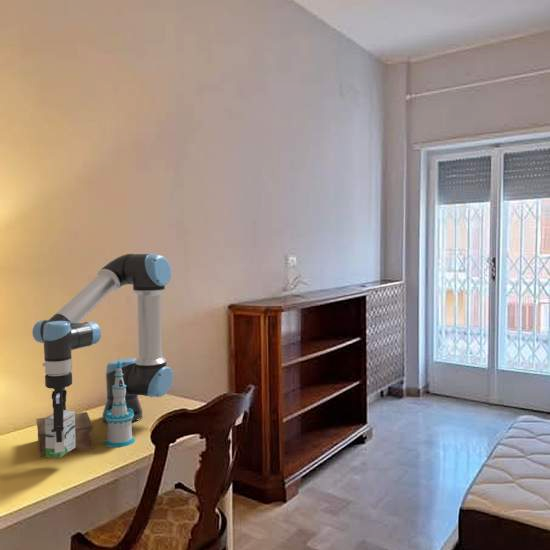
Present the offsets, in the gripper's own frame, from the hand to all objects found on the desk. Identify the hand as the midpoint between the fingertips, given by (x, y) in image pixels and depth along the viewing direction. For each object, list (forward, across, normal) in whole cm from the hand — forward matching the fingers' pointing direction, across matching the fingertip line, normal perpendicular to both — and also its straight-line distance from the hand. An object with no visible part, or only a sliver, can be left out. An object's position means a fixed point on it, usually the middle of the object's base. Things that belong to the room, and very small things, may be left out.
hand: (61, 445), depth 157 cm
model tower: (+8, -17, +18) cm, 25 cm away
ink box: (+2, 0, 0) cm, 2 cm away
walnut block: (+8, -20, 0) cm, 21 cm away
